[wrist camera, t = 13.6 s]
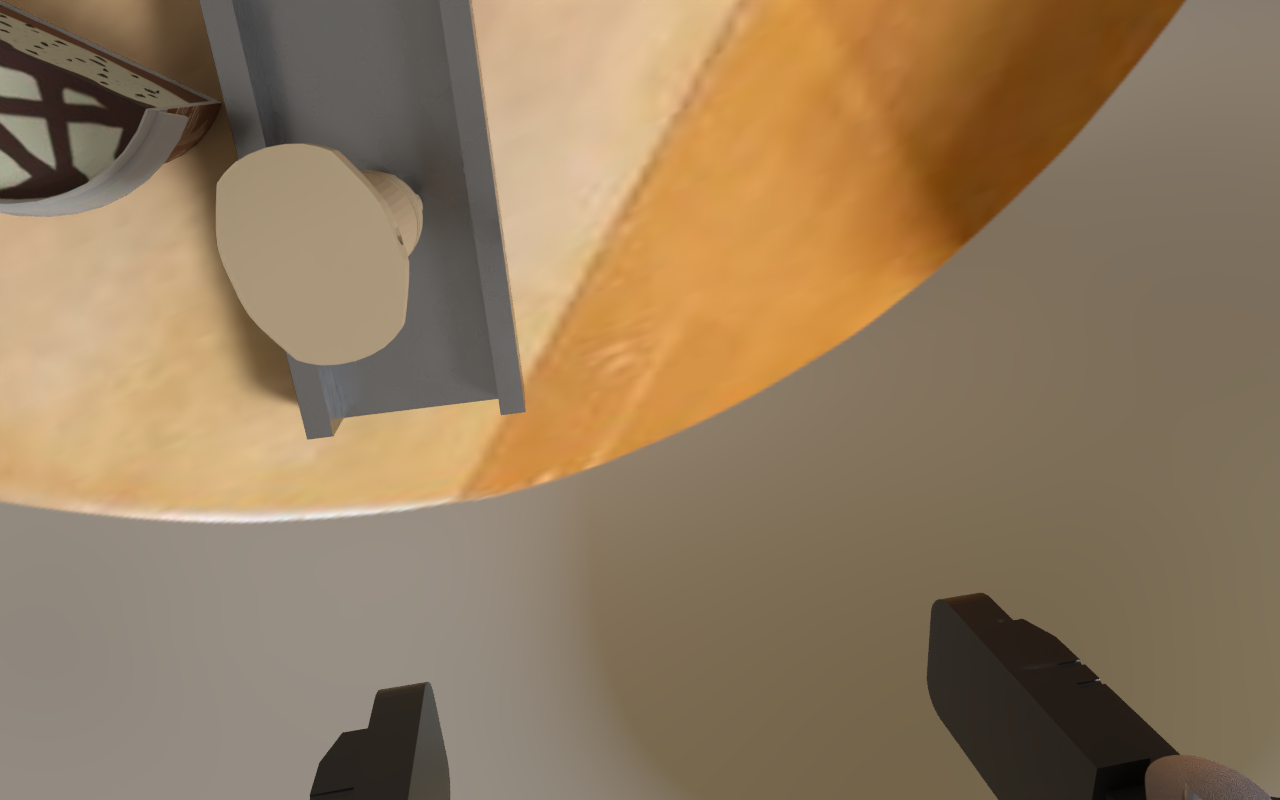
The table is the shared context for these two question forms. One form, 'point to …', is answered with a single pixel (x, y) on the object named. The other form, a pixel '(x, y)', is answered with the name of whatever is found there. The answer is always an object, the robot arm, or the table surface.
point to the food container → (83, 120)
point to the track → (399, 145)
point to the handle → (318, 249)
